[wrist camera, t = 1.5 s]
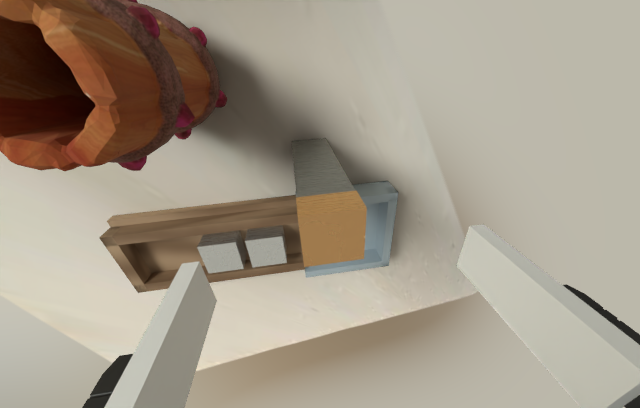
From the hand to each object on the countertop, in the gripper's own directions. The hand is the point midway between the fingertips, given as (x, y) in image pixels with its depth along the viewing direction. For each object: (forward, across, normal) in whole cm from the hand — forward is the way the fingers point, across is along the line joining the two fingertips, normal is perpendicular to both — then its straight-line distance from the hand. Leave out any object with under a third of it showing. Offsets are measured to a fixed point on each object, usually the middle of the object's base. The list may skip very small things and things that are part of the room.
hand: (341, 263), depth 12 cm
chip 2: (+15, -6, -9) cm, 18 cm away
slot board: (+16, -12, -9) cm, 22 cm away
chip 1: (+15, -11, -9) cm, 20 cm away
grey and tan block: (+16, 0, 0) cm, 16 cm away
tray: (+16, +3, -9) cm, 18 cm away
